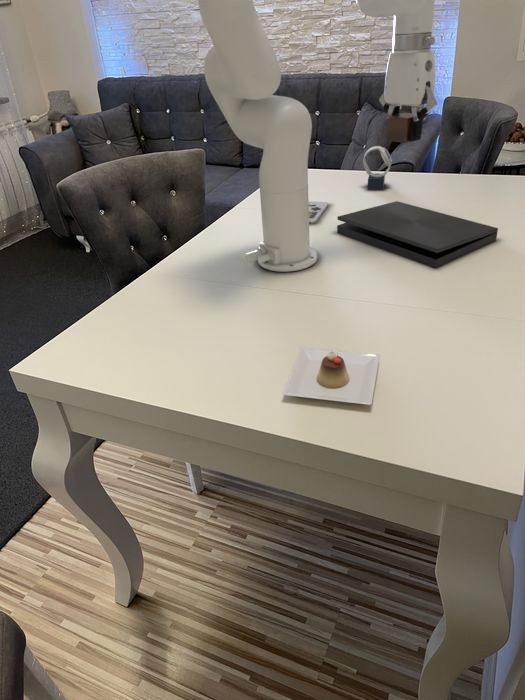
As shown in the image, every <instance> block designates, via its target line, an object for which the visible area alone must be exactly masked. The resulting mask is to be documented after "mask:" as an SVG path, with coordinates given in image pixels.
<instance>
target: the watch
mask: <svg viewBox="0 0 525 700" xmlns="http://www.w3.org/2000/svg"><path fill="white" fill-rule="evenodd" d="M374 150H378V151H379V152H380V156H381V159H382V160H383V162H384V164H385V165H386V166H387V169H386V170H385V171H384V172H381V173H373V172H372V170H371V169H370V167H369V166H368V162H367V157H366V156H367V155H368V153H370V152H371V151H374ZM392 164H393V160H392V157H391V155H390V152H389V151H388V149H387V148H386V147H385V146H384V147H383V146H381V145H375V146H371V147H370V148H369V149H367V150H366V151H365V153H364V155H363V157H362V166H363V169H364V170H365V172H366V174H367V175H368V176H367V177H368V178H367V191H384V188H385V183H386V181H385V180H386V175H387V174H388V173H389V172H390V169H391V166H392Z"/></svg>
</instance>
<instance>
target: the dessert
mask: <svg viewBox="0 0 525 700" xmlns="http://www.w3.org/2000/svg"><path fill="white" fill-rule="evenodd" d="M380 357H381V354H378V353H367V352H355V351H346V350H345V351H344V350H332V349H322V348H312V347H311V348H310V347H299V351H298V353H297V355H296V358H295V360H294V363H293V365H292V368H291V370H290V373H289V376H288V378H287V381H286V383H285V385H284V388H283V391H282V393H281V394H282V395H283V396H289V397H290V396H291V397H298V398H307V399H315V400H325V401H332V402H333V401H334V402H342V403H349V404H350V403H351V404H359V405H368V406H372V404H373V403H372V402H373V397H374V391H375V385H376V381H377V380H376V379H377V374H378V370H379V369H378V368H379V364H380V363H379V362H380Z"/></svg>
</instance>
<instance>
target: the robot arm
mask: <svg viewBox="0 0 525 700" xmlns="http://www.w3.org/2000/svg"><path fill="white" fill-rule="evenodd" d="M197 1H198V10H199V14H200V18H201V21H202V24H203V27H204V29H205V32H206V34H207V36H208V37H209V39H210V42H211V46H210V47H209V48H208V50H207V51H206V53H205V57H204V60H203V61H204V62H203V72H204V78H205V82H206V86H207V88H208V90H209V91H210V93H211V95H212V97H213V98H214V100H215V102H216V104H217V106H218V108H219V110H220V111H221V113H222V115H223V117H224V119H225V120H226V122H227V124H228V125H229V128H231V130H232V132H233V134H234V135H235V136H236V138H238V139H239V140H240V141H241V142H243V143H244V144H246V145H248V146H251V147H254V148H258V149H262V150H263V151H262V157H261V161H260V165H259V169H258V185H259V195H260V211H261V223H262V224H261V225H262V235H263V236H262V237H263V241H260V242H259V247H257V248H256V250H254V251H253V250H252V251H250V252H247V253H244V260H245V261H246V263H248V264H250V263H253V262H255V261H257V263H258V265H259V266H260V267H262V268H263V269H266V270H269V271H271V272H280V273H281V272H282V273H284V272H285V273H288V272H297V271H302V270H304V269H307V268H309V267H311V266H313V265H314V264H316V262H317V260H318V252H317V250H315V249H314V248H313V247H311V245H310V243H311V241H310V223H309V202H308V201H309V176H308V175H309V168H308V167H309V152H310V145H311V139H312V132H313V131H312V130H313V122H312V117H311V114H310V112H309V109H308V108H307V107H306V106H305V105H304V104H303V103H302V102H301V101H299V100H298V99H295V98H293V97H290V96H283V95H276V94H275V93H276V92H277V91H278V89H279V88H280V84H281V82H282V81H281V80H282V71H281V66H280V62H279V60H278V57H277V55H276V53H275V50H274V48H273V46H272V44H271V42H270V40H269V37H268V35H267V32H266V31H265V28H264V26H263V24H262V21H261V20H260V18H259V14H258V12H257V10H256V6H255V4H254V1H253V0H197ZM355 2H356V5H357V7H358V9H359V10H360V12H362V14H364V15H365V16H367V17H371V18H389V17H393V30H392V31H393V32H392V47H391V52H389V56H388V61H387V65H386V72H385V77H384V78H385V79H384V90H383V93H382V94H381V96H380V97H379V99H378V101H379V103H380V105H381V106H382V107H383V110H384V111H385V113H386V118H387V119H388V120H389V116H392V115H396V114H401V111H402V107H403V106H405V107H410V108H411V109H410V110H411V113H412V117H413V121H411V123H410V132H409V141H412V142H415V141H419V140H421V139H420V138H422V133H423V121H424V120H426V118H427V116H428V115H429V114H430V113H431V111H433V110H434V109H435V108H436V107H438V101H437V99H436V97H435V85H436V61H435V60H436V59H435V51H434V50H431V47H432V46H433V45H434V44H435V42H436V38H435V37H434V36H433V35H432V34H433V23H434V13H435V4H436V3H435V2H436V0H355Z"/></svg>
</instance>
